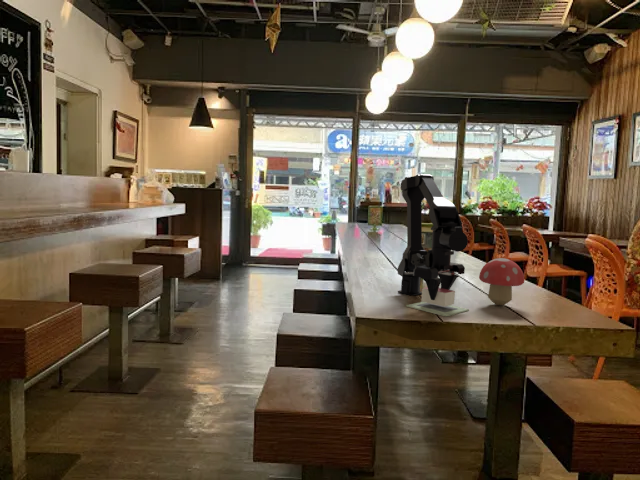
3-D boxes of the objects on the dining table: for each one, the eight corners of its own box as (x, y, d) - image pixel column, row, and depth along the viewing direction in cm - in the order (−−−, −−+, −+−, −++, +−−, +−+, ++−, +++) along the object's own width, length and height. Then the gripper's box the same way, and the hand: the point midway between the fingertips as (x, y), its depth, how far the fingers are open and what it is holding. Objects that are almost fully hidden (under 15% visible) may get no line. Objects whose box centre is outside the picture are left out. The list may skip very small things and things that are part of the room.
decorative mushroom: (475, 307, 154) (479, 259, 152) (478, 298, 166) (482, 254, 164) (522, 312, 149) (526, 263, 147) (521, 303, 161) (525, 257, 159)
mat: (429, 301, 159) (429, 299, 159) (468, 310, 148) (468, 308, 148) (406, 306, 150) (406, 304, 150) (446, 316, 140) (446, 314, 140)
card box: (453, 304, 148) (454, 290, 148) (444, 306, 145) (445, 292, 144) (431, 299, 154) (431, 286, 154) (421, 301, 150) (422, 288, 150)
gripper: (436, 242, 160) (432, 290, 161) (400, 245, 147) (397, 297, 149) (467, 246, 152) (463, 296, 153) (432, 250, 139) (428, 304, 141)
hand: (437, 298), depth 149 cm, fingers closed on card box, 5 cm apart
